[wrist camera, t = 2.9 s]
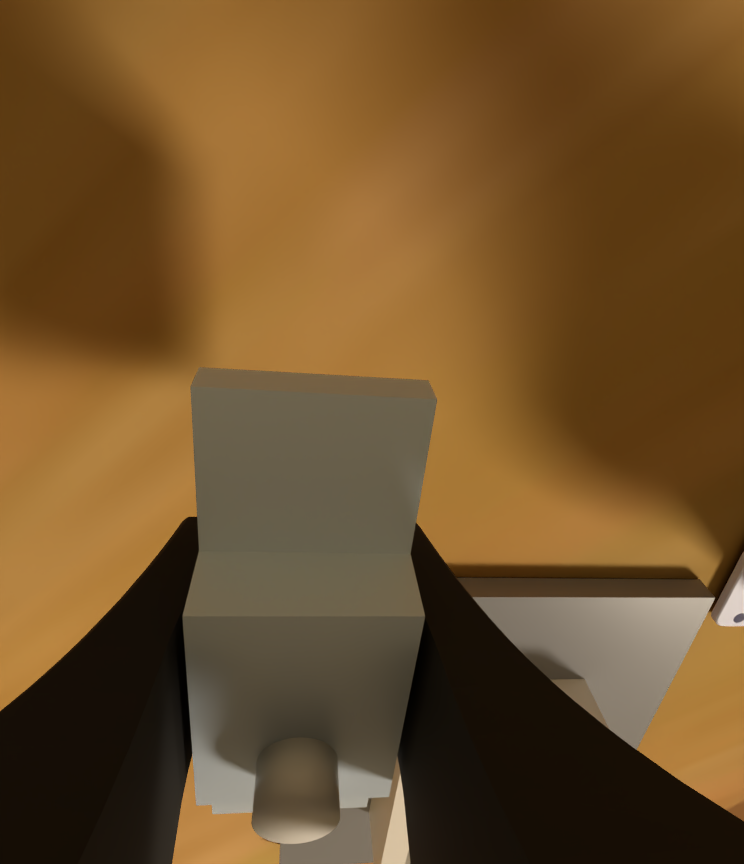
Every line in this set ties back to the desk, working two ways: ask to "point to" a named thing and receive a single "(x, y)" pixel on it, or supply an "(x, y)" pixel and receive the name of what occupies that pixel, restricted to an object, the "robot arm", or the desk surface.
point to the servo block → (302, 591)
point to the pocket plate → (553, 677)
